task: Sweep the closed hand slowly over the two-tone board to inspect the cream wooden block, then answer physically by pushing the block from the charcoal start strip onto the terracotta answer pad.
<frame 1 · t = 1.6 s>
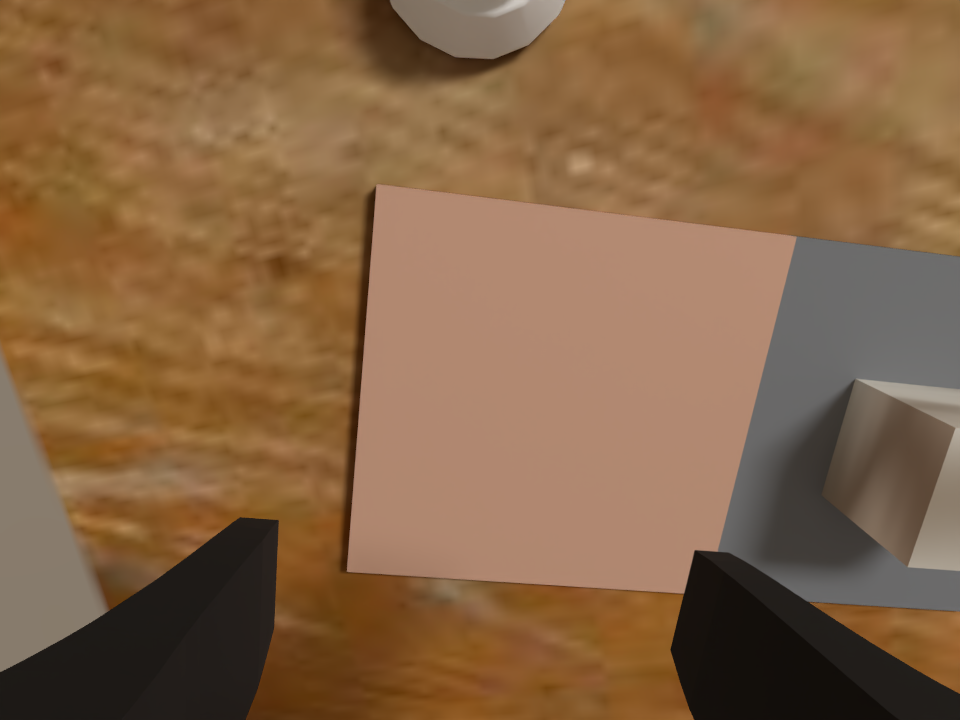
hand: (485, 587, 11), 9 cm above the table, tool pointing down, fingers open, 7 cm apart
cream block: (896, 443, 21), resting on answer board
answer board: (740, 424, 21), on the table
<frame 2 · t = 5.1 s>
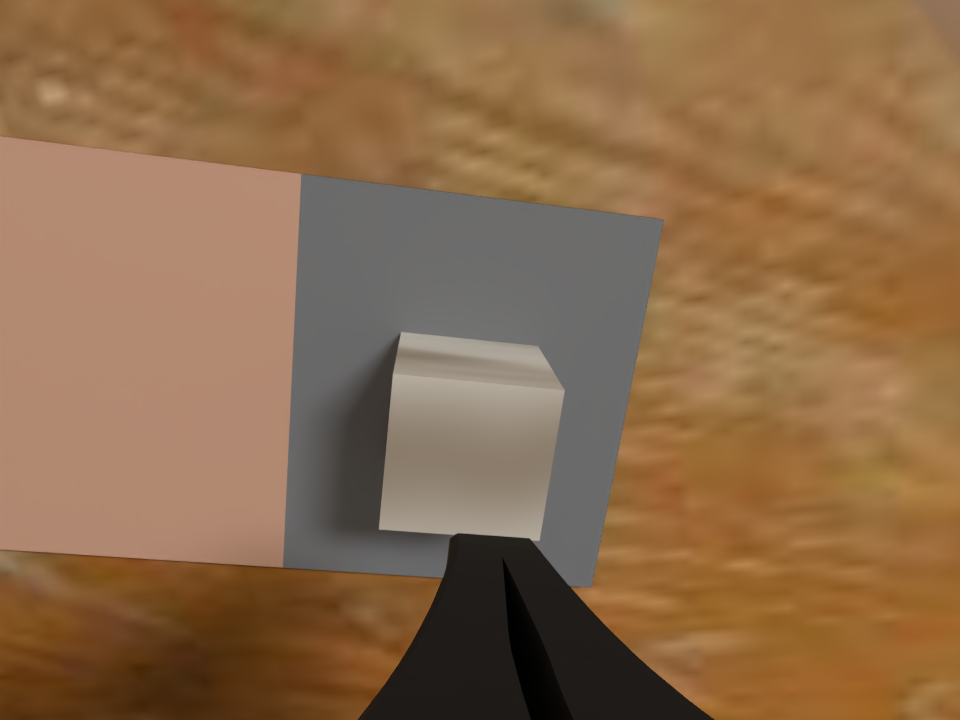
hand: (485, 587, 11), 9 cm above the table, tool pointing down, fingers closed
cream block: (462, 403, 19), resting on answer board
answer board: (294, 382, 19), on the table
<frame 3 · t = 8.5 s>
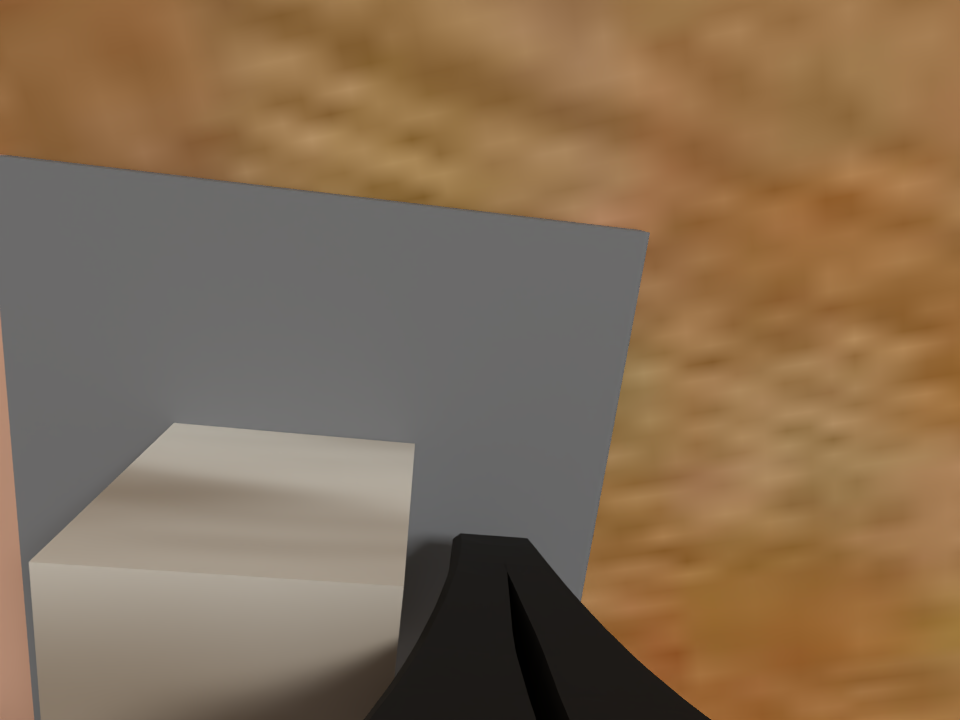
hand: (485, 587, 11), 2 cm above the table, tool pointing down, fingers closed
cream block: (291, 537, 11), point 1 cm above the table, touching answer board, gripper
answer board: (34, 506, 12), on the table
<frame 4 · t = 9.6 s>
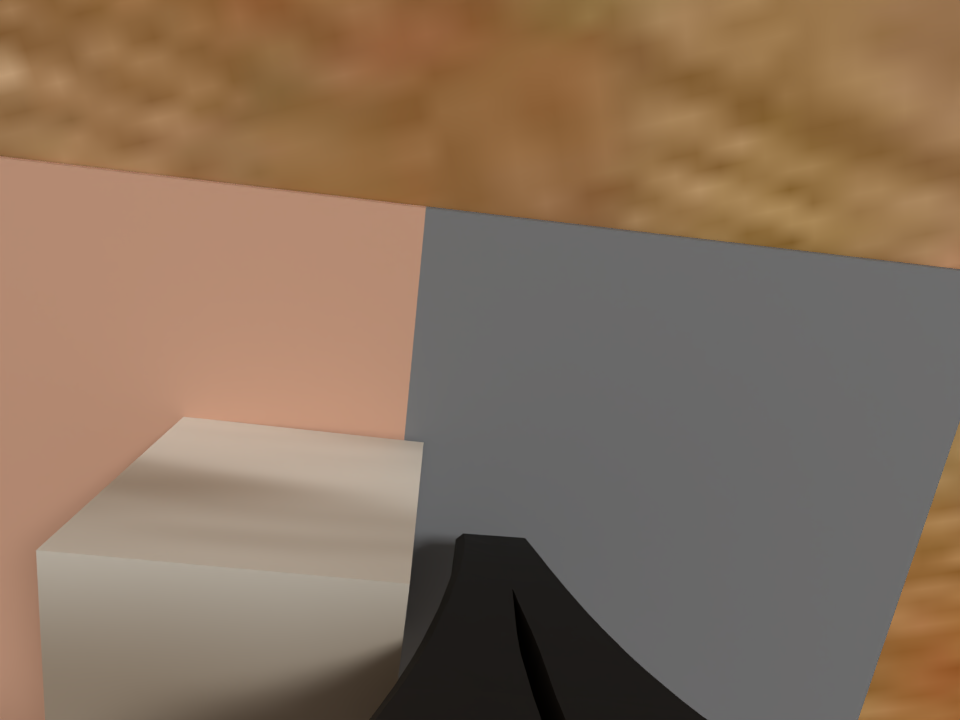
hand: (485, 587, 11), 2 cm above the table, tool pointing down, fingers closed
cream block: (298, 534, 11), point 1 cm above the table, touching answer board, gripper
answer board: (395, 531, 12), on the table
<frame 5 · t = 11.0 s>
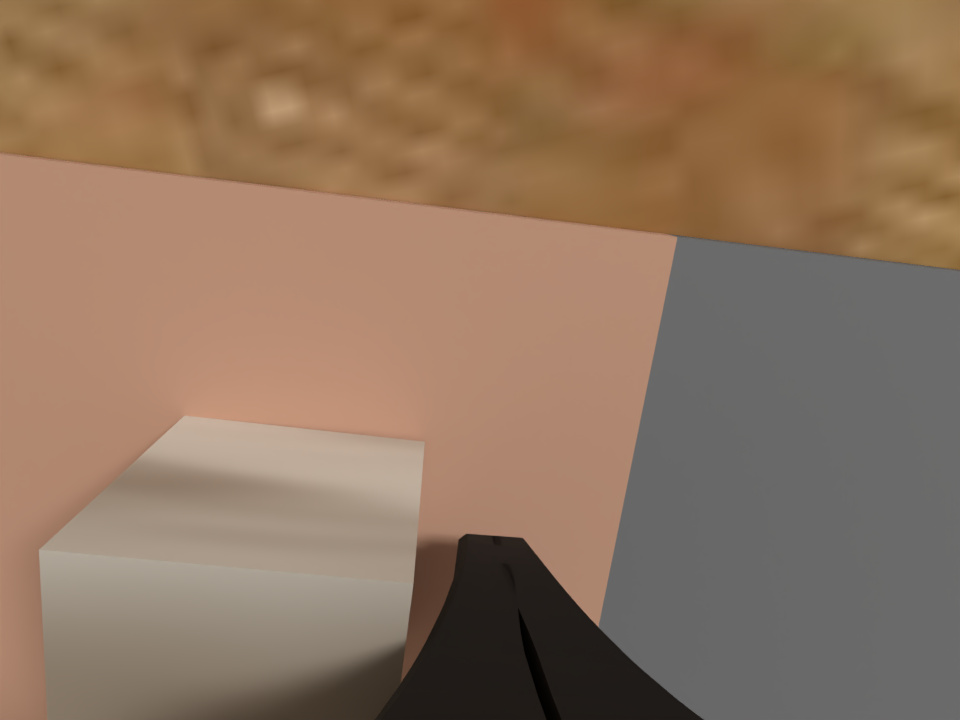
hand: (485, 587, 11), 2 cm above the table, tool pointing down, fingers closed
cream block: (299, 533, 11), point 1 cm above the table, touching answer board, gripper
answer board: (605, 545, 13), on the table
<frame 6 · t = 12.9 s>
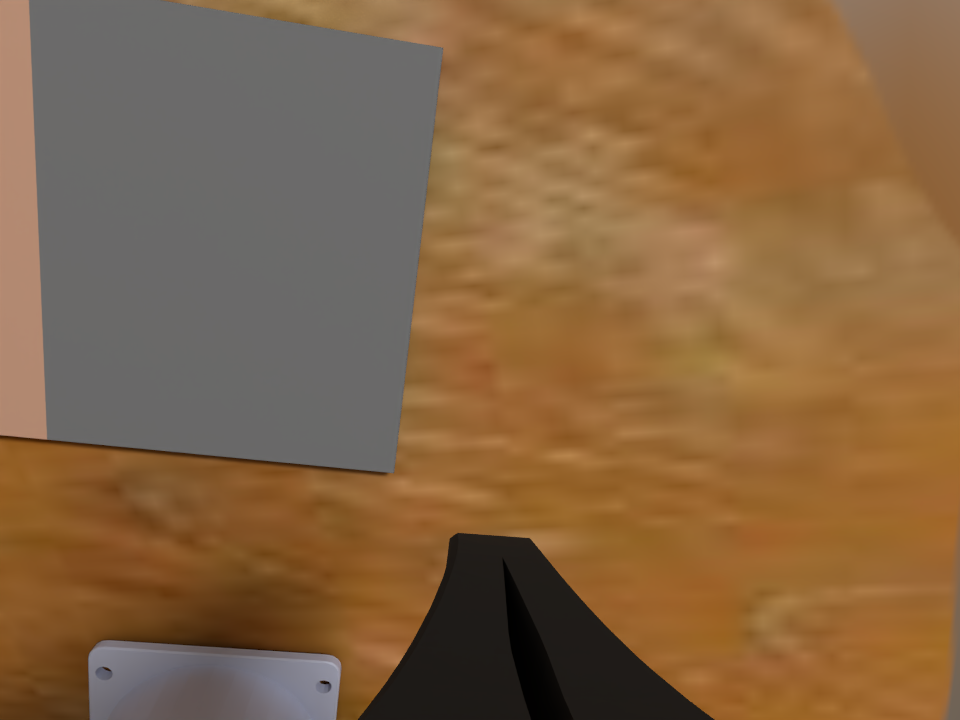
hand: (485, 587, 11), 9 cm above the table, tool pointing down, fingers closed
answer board: (49, 228, 18), on the table
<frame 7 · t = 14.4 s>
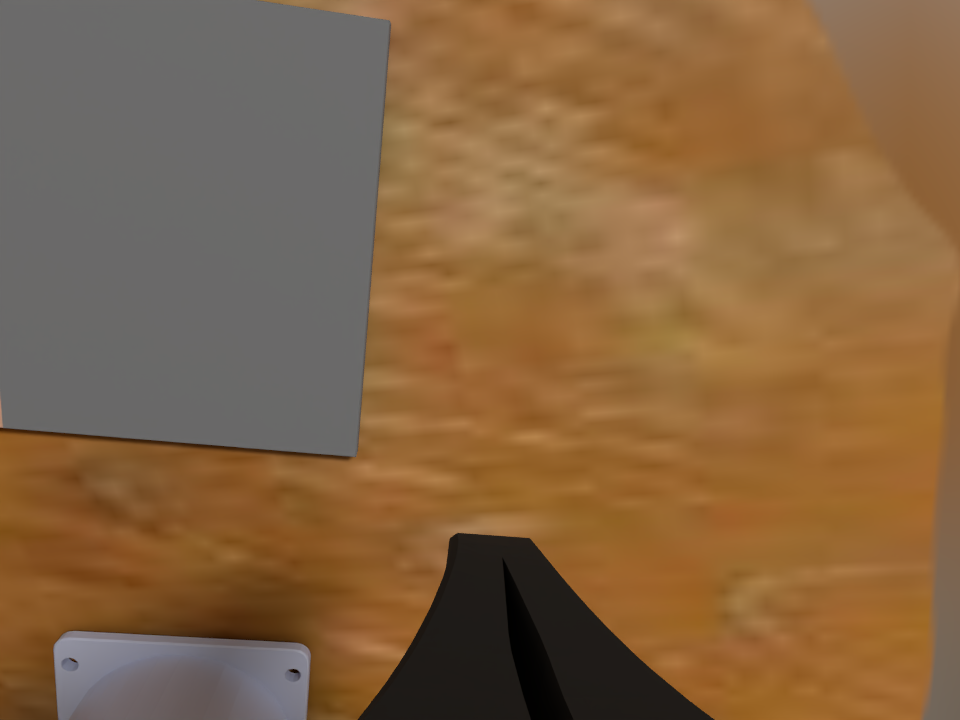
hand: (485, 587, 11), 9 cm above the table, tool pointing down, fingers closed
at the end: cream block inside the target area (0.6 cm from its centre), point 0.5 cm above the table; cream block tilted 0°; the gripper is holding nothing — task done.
